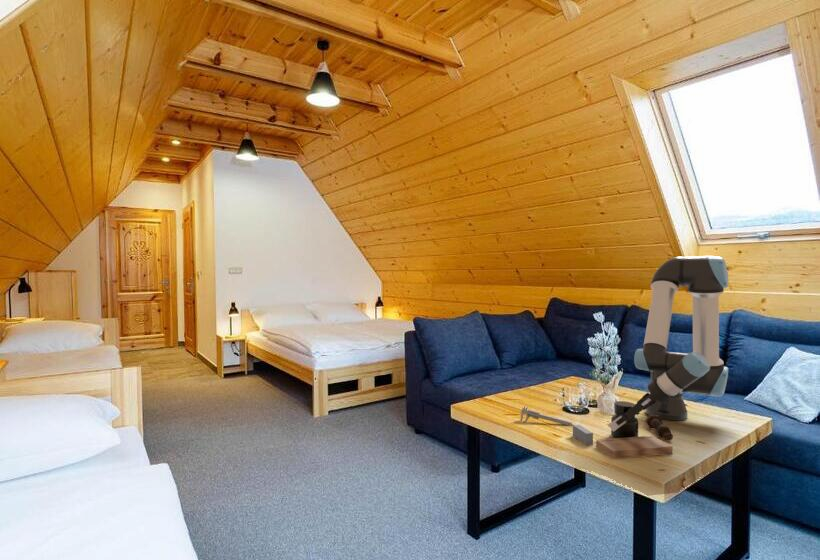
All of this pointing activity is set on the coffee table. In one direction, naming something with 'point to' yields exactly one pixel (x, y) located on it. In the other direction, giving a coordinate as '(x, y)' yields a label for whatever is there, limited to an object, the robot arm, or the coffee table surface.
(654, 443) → the board
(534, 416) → the caliper
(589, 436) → the block
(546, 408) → the coffee table surface
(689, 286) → the robot arm
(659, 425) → the bolt
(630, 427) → the ink bottle
